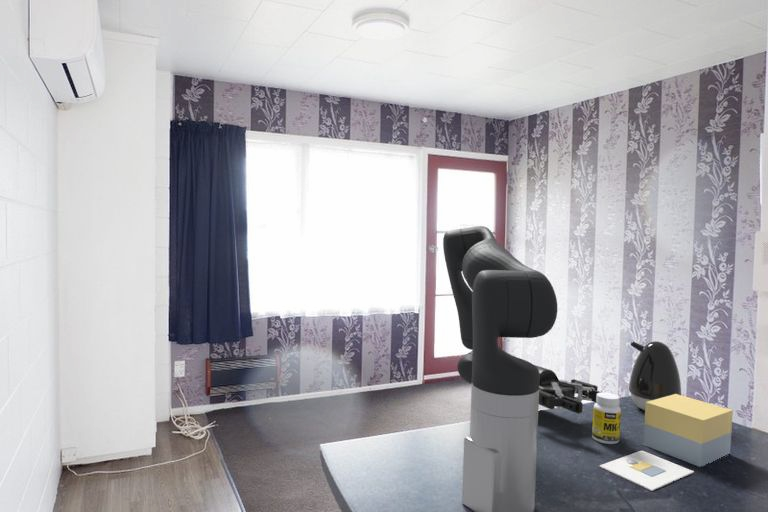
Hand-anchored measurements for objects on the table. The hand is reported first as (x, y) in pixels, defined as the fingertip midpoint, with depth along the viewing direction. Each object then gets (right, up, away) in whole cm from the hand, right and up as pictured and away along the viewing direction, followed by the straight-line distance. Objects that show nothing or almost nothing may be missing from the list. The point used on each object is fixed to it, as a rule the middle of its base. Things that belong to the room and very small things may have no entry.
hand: (595, 404), depth 98 cm
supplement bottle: (+1, -6, -2) cm, 7 cm away
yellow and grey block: (+14, -7, -5) cm, 17 cm away
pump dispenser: (+19, -6, +15) cm, 25 cm away
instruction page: (+3, -7, -14) cm, 15 cm away
